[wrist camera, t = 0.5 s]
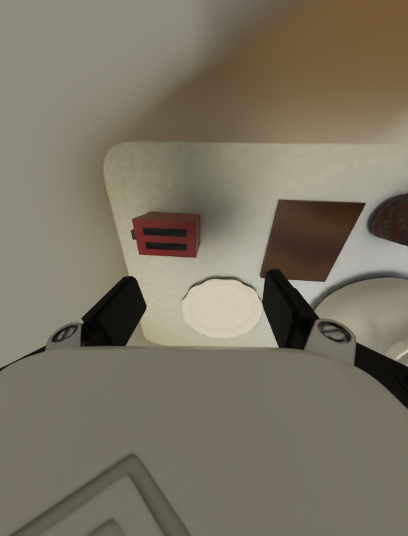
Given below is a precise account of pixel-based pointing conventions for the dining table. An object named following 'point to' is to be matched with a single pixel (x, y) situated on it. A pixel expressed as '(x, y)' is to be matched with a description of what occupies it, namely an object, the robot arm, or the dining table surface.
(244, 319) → the plate
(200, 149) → the dining table surface
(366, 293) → the pot
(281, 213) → the board
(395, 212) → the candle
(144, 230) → the toaster
